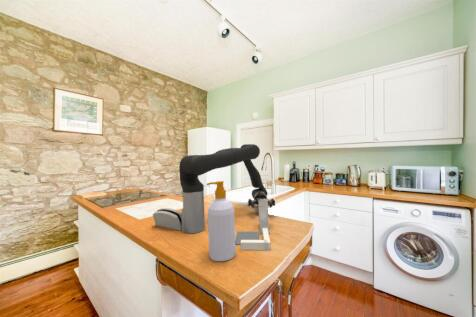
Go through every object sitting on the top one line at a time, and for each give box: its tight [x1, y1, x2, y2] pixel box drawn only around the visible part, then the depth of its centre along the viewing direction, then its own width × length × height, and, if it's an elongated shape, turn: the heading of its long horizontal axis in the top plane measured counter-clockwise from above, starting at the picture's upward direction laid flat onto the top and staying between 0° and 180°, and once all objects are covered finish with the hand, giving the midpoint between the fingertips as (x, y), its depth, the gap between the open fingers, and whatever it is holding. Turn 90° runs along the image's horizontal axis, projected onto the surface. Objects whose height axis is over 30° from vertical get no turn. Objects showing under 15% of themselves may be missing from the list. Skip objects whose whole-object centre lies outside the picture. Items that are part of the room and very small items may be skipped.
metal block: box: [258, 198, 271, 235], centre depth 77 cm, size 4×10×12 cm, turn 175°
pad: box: [235, 231, 260, 246], centre depth 69 cm, size 9×11×1 cm
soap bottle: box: [206, 180, 237, 262], centre depth 57 cm, size 9×9×24 cm
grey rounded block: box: [152, 207, 182, 232], centre depth 83 cm, size 17×5×10 cm, turn 63°
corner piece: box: [240, 228, 272, 251], centre depth 66 cm, size 10×12×2 cm
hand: (262, 205), depth 89 cm, fingers open, 8 cm apart
